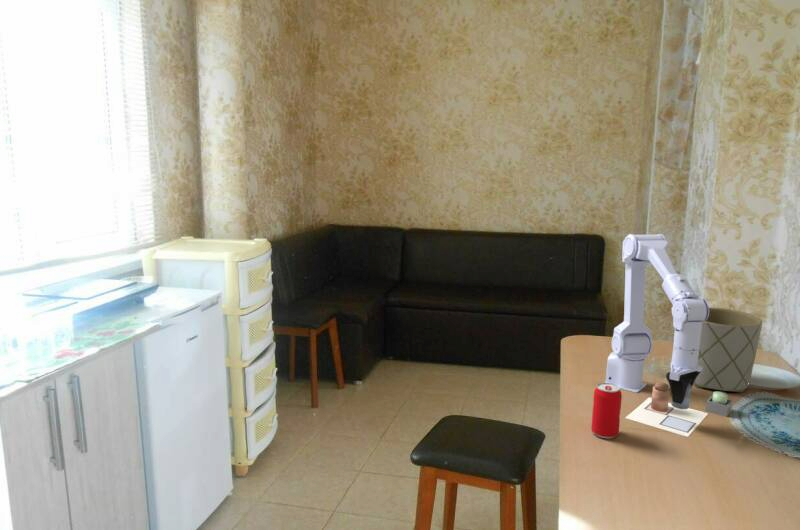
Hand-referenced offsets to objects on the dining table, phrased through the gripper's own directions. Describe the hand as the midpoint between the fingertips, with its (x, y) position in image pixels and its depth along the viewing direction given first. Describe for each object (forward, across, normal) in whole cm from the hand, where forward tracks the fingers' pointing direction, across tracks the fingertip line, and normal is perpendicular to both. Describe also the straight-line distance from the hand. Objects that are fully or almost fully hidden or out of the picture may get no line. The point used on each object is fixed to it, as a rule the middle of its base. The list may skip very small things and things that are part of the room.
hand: (680, 399), depth 153 cm
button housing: (+7, +15, -6) cm, 17 cm away
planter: (+7, +36, 0) cm, 37 cm away
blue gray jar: (+2, 0, 0) cm, 2 cm away
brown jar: (+6, +6, +6) cm, 11 cm away
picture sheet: (+7, +3, +4) cm, 8 cm away
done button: (+5, +15, -6) cm, 17 cm away
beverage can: (+7, -17, +12) cm, 22 cm away
